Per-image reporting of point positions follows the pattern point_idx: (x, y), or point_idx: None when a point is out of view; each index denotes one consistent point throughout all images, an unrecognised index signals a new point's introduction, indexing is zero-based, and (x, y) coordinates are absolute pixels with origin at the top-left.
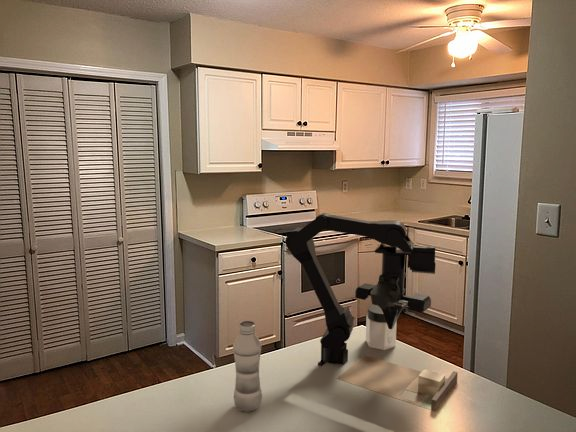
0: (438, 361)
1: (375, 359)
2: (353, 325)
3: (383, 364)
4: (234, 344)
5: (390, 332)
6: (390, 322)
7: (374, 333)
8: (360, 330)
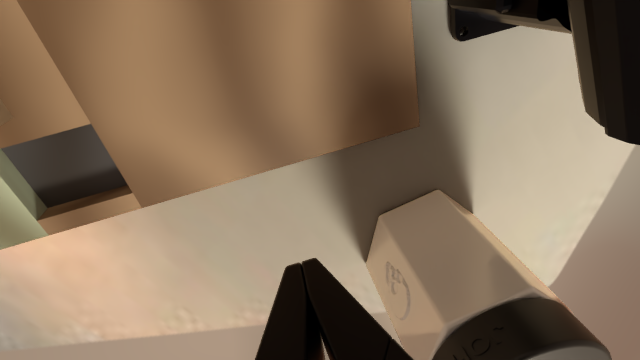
0: (210, 320)
1: (361, 133)
2: (614, 121)
3: (303, 124)
4: None
5: (405, 306)
6: (299, 315)
7: (464, 251)
8: (538, 274)
